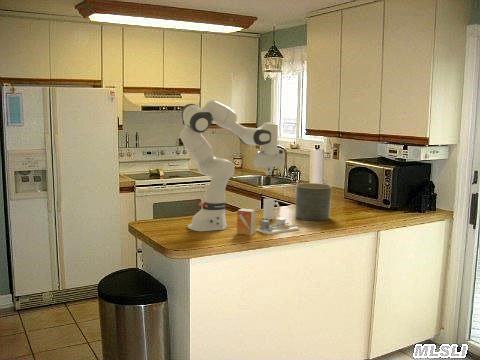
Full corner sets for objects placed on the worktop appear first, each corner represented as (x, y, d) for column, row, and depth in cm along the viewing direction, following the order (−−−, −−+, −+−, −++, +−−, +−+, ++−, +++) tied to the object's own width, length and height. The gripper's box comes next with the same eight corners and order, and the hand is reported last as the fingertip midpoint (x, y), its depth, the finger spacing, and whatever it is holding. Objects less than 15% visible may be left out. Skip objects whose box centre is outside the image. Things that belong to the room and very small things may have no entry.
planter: (336, 217, 317) (338, 186, 314) (317, 223, 301) (318, 189, 298) (307, 212, 332) (309, 182, 329) (287, 217, 315) (288, 185, 313)
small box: (236, 234, 269) (237, 210, 268) (240, 231, 275) (241, 208, 273) (250, 235, 266) (251, 211, 265) (254, 233, 272) (255, 209, 270)
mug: (261, 219, 307) (262, 199, 305) (264, 217, 313) (265, 198, 312) (277, 220, 304) (278, 201, 302) (280, 218, 310) (281, 199, 308)
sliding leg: (286, 229, 276) (286, 221, 276) (276, 226, 283) (276, 218, 283) (290, 228, 278) (290, 220, 278) (280, 225, 285) (280, 217, 285)
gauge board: (268, 234, 269) (268, 223, 269) (256, 230, 278) (257, 220, 277) (299, 229, 282) (299, 219, 281) (287, 226, 290) (287, 216, 289)
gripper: (258, 151, 280) (257, 176, 282) (286, 150, 291) (285, 174, 293) (251, 150, 285) (250, 175, 287) (279, 149, 297) (278, 173, 298)
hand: (268, 174), depth 290 cm, fingers closed
